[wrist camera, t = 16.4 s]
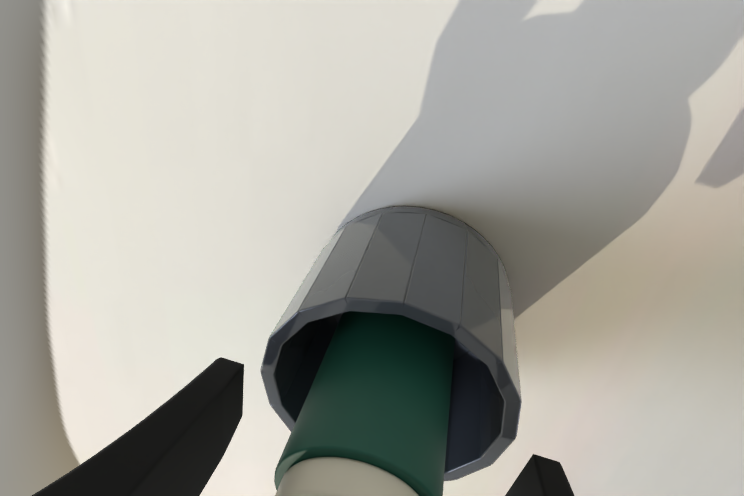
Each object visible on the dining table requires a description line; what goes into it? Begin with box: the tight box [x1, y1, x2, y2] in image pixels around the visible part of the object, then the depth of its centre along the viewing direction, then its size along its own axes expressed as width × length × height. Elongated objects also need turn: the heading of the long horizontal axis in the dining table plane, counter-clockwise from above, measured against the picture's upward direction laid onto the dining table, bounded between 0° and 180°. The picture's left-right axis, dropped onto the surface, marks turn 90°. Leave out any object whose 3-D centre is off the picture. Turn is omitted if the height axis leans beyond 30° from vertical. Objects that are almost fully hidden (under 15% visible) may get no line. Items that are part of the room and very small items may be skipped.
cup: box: [261, 206, 521, 481], centre depth 14 cm, size 7×7×5 cm
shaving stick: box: [275, 311, 455, 496], centre depth 12 cm, size 4×4×8 cm
